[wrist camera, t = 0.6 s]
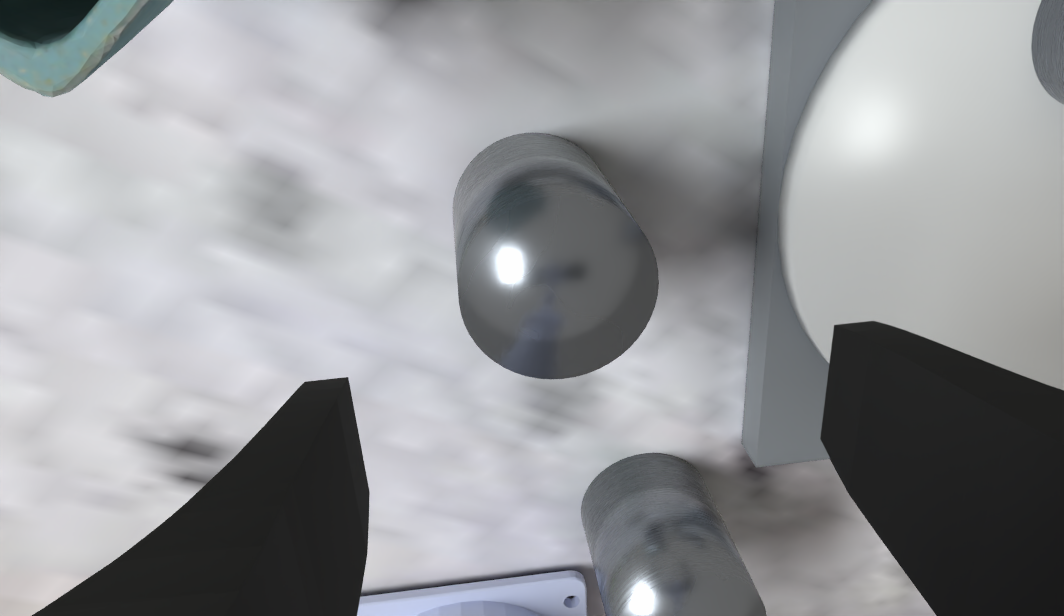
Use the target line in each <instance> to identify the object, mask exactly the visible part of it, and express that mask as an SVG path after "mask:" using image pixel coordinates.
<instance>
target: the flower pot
mask: <svg viewBox="0 0 1064 616" xmlns="http://www.w3.org/2000/svg"><path fill="white" fill-rule="evenodd" d="M172 1H173V0H0V74H1V75H3V76H4V77H6V78H8V79H9V80H11V81H13V82H14V83H16V84H18V85H20V86H21V87H23V88H25V89H29V90H32V91H35V92H37V93H39V94H41V95H43V96H48V97H55V96H58V95H61V94H64V93H67V92H70V91H71V90H73V89H74V88H75V87H77V86H78V85H79V84H80V83H82V82H83V81H84V80H85V79H87V78H88V77H89V76H90V75H91V74H92V73H94V72H95V71H96V70H97V69H98V68H99V67H100V66H102V65H103V64H104V63H105V62H106V61H107V60H108V59H110V58H111V57H112V56H113V55H114V54H115V53H117V52H118V51H119V50H120V49H121V48H123V47H124V46H125V45H126V44H127V43H128V42H129V41H130V40H131V39H132V38H134V37H135V36H136V35H137V34H138V33H139V32H140V31H141V30H142V29H143V28H144V27H145V26H147V25H148V24H149V23H150V22H151V21H152V20H153V19H154V18H155V17H156V16H158V15H159V14H160V13H161V12H162V11H163V10H164V9H165V8H166V7H167V6H169V5H170V3H171V2H172Z"/></svg>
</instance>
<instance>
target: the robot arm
mask: <svg viewBox="0 0 1064 616" xmlns="http://www.w3.org/2000/svg"><path fill="white" fill-rule="evenodd" d="M820 439H821V441H822V443H823V445H824V447H825V449H826V451H827V453H828V455H829V457H830V459H831V461H832V463H833V465H834V467H835V469H836V471H837V473H838V475H839V477H840V479H841V480H842V482H843V484H844V486H845V488H846V490H847V491H848V493H849V495H850V496H851V498H852V499H853V500H854V502H855V503H856V505H857V506H858V508H859V509H860V511H861V512H862V513H863V515H864V516H865V518H866V519H867V520H868V522H869V523H870V525H871V526H872V527H873V529H874V530H875V532H876V533H877V534H878V536H879V537H880V539H881V540H882V541H883V543H884V544H885V545H886V547H887V548H888V549H889V551H890V552H891V554H892V555H893V556H894V558H895V559H896V560H897V562H898V563H899V565H900V566H901V567H902V569H903V570H904V571H905V573H906V574H907V576H908V577H909V578H910V580H911V581H912V582H913V584H914V585H915V586H916V588H917V589H918V591H919V592H920V593H921V595H922V596H923V597H924V599H925V600H926V602H927V603H928V604H929V606H930V607H931V608H932V610H933V611H934V613H935V614H936V615H937V616H1064V390H1061V389H1058V388H1055V387H1052V386H1049V385H1047V384H1044V383H1041V382H1038V381H1036V380H1033V379H1030V378H1028V377H1025V376H1022V375H1020V374H1017V373H1014V372H1012V371H1009V370H1006V369H1004V368H1001V367H999V366H996V365H994V364H991V363H988V362H986V361H983V360H981V359H978V358H976V357H973V356H971V355H968V354H966V353H963V352H961V351H958V350H955V349H953V348H950V347H948V346H945V345H943V344H940V343H938V342H935V341H933V340H930V339H927V338H925V337H922V336H919V335H917V334H914V333H911V332H909V331H906V330H903V329H900V328H897V327H894V326H891V325H888V324H884V323H880V322H877V321H866V322H857V323H848V324H838V325H834V330H833V338H832V346H831V355H830V363H829V371H828V379H827V387H826V395H825V404H824V412H823V420H822V428H821V436H820ZM368 523H369V487H368V482H367V477H366V471H365V466H364V461H363V455H362V450H361V444H360V439H359V434H358V428H357V423H356V418H355V412H354V407H353V401H352V396H351V391H350V385H349V380H348V377H346V378H337V379H327V380H318V381H309V382H304V383H303V384H302V385H301V386H300V387H299V388H298V389H297V391H296V392H295V393H294V394H293V395H292V396H291V397H290V398H289V399H288V400H287V401H286V403H285V404H284V405H283V406H282V407H281V408H280V409H279V410H278V411H277V413H276V414H275V415H274V416H273V417H272V418H271V419H270V420H269V421H268V422H267V424H266V425H265V426H264V427H263V428H262V429H261V430H260V431H259V432H258V433H257V434H256V435H255V436H254V437H253V438H252V439H251V441H250V442H249V443H248V444H247V445H246V446H245V447H244V448H243V449H242V450H241V451H240V452H239V453H238V454H237V455H236V456H235V457H234V458H233V459H232V460H231V461H230V462H229V463H228V464H227V465H226V466H225V467H224V468H223V469H222V470H221V471H220V472H219V473H218V474H217V475H215V476H214V477H213V478H212V479H211V480H210V481H209V482H208V483H207V484H206V485H205V486H204V487H203V488H202V489H201V490H200V491H199V492H197V493H196V494H195V495H194V496H193V497H192V498H191V499H190V500H189V501H188V502H187V503H186V504H185V505H183V506H182V507H181V508H180V509H179V510H178V511H177V512H175V513H174V514H173V515H172V516H171V517H169V518H168V519H167V520H166V521H165V522H163V523H162V524H161V525H160V526H159V527H157V528H156V529H155V530H154V531H152V532H151V533H150V534H148V535H147V536H146V537H145V538H143V539H142V540H141V541H139V542H138V543H137V544H136V545H134V546H133V547H132V548H130V549H129V550H128V551H127V552H125V553H124V554H123V555H121V556H120V557H118V558H117V559H116V560H114V561H113V562H112V563H110V564H109V565H107V566H106V567H104V568H103V569H101V570H100V571H98V572H97V573H95V574H94V575H92V576H91V577H89V578H88V579H86V580H85V581H83V582H82V583H81V584H79V585H78V586H76V587H75V588H73V589H72V590H70V591H69V592H67V593H66V594H64V595H63V596H61V597H60V598H58V599H57V600H55V601H54V602H52V603H51V604H49V605H48V606H46V607H45V608H43V609H42V610H40V611H38V612H37V613H35V614H34V615H32V616H587V589H586V583H585V579H584V576H583V575H582V574H581V573H580V572H577V571H572V570H568V571H560V572H553V573H545V574H537V575H529V576H521V577H513V578H505V579H497V580H489V581H481V582H473V583H466V584H458V585H450V586H442V587H434V588H426V589H418V590H410V591H402V592H394V593H386V594H378V595H371V596H363V597H360V595H361V589H362V583H363V577H364V571H365V564H366V558H367V546H368ZM569 596H575V597H573V598H567V597H569Z"/></svg>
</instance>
